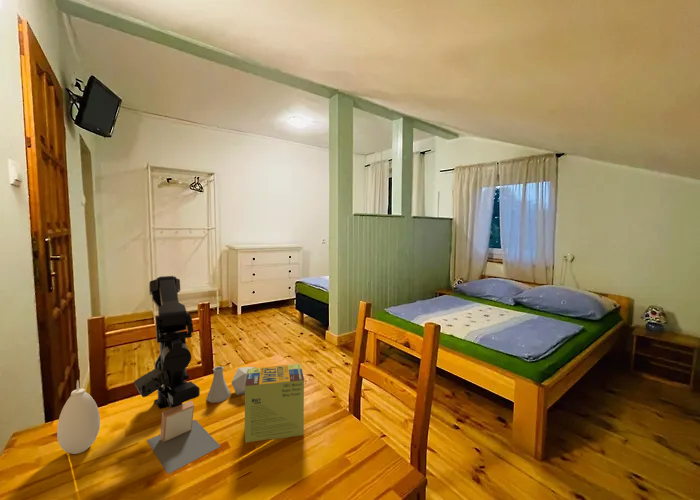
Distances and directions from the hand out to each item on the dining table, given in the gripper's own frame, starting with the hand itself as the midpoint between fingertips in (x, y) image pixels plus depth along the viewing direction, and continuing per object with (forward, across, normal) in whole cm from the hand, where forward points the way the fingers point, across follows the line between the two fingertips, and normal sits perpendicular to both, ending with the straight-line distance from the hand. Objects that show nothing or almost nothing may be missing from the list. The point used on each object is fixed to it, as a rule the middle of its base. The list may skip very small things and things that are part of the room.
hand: (174, 414), depth 81 cm
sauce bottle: (+6, -10, -18) cm, 21 cm away
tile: (+5, +1, 0) cm, 5 cm away
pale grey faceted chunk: (+6, -6, +24) cm, 25 cm away
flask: (+6, -9, +16) cm, 19 cm away
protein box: (+6, +17, +20) cm, 27 cm away
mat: (+6, +6, 0) cm, 8 cm away
